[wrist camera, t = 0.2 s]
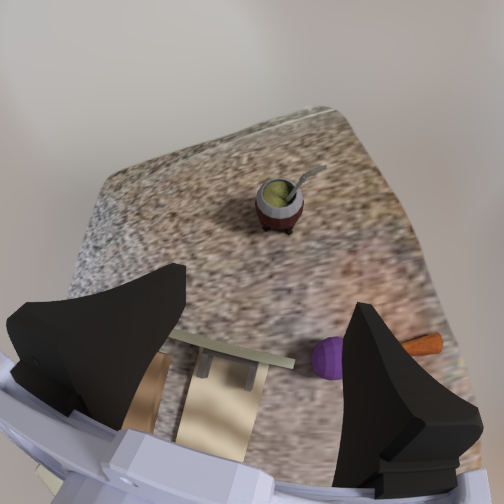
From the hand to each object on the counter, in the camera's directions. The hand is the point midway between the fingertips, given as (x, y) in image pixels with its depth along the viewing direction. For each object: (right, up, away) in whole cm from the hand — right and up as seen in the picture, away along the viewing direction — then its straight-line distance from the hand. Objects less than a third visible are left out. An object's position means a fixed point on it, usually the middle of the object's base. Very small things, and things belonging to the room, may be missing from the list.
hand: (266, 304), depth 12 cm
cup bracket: (-5, -22, +25) cm, 34 cm away
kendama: (+17, -13, +28) cm, 35 cm away
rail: (-16, -21, +27) cm, 38 cm away
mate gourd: (+4, +7, +36) cm, 37 cm away
